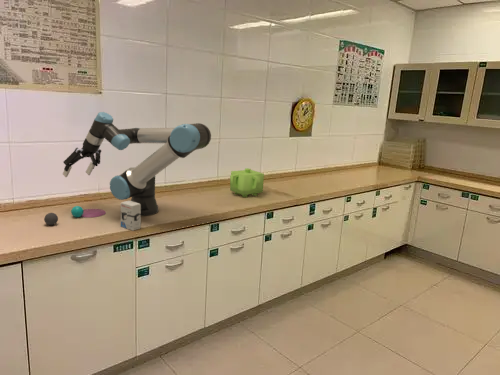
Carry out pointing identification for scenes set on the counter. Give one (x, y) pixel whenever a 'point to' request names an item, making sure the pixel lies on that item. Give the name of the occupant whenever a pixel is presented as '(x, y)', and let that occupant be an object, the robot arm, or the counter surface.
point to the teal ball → (77, 211)
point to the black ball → (51, 219)
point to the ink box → (131, 215)
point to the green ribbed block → (246, 182)
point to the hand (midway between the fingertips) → (76, 174)
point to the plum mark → (93, 212)
